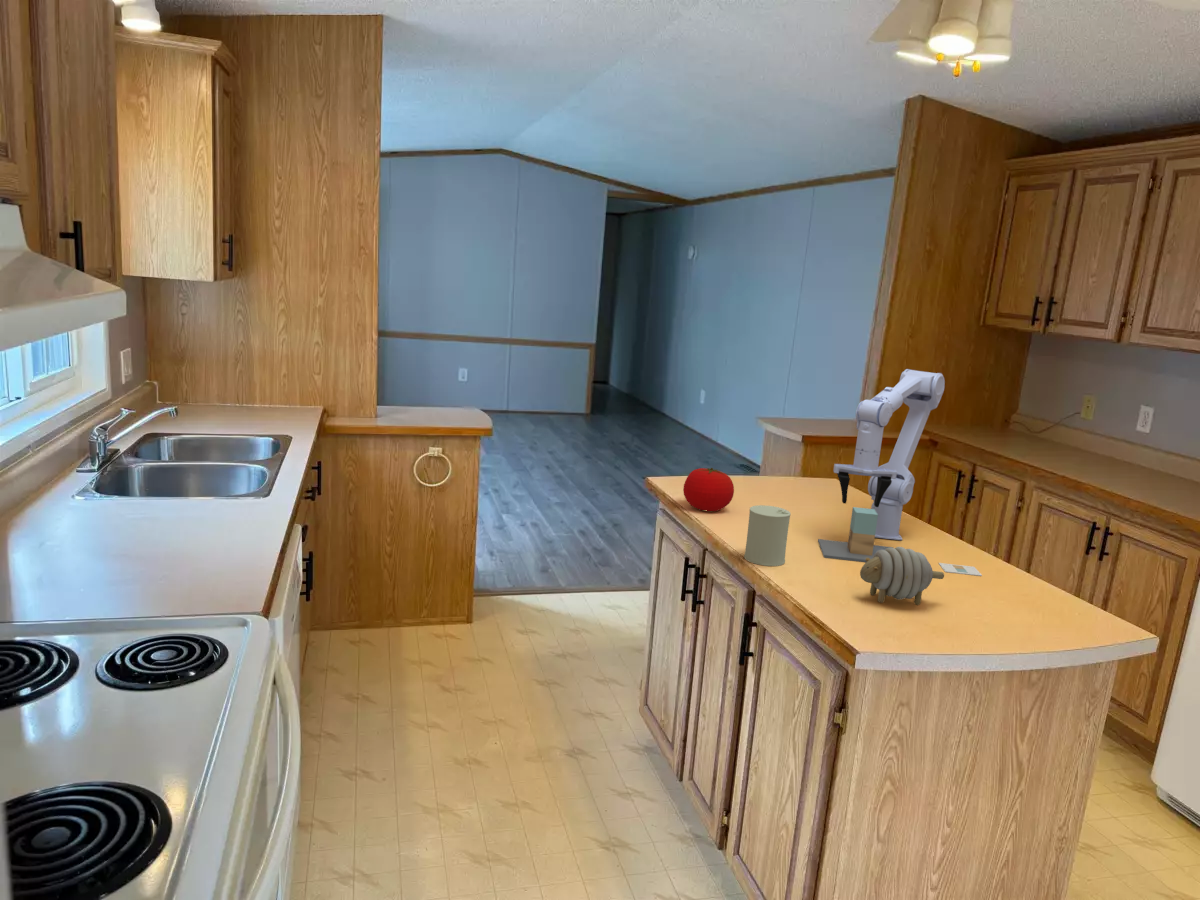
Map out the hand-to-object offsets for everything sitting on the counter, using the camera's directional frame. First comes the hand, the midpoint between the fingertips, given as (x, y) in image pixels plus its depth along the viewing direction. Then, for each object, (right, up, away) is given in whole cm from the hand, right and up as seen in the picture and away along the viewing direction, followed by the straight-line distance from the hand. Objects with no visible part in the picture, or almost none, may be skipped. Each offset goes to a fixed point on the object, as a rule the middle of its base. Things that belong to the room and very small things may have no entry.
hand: (860, 504), depth 204 cm
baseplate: (-2, -11, -5) cm, 12 cm away
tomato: (-34, -3, +25) cm, 43 cm away
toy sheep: (-3, -18, -34) cm, 38 cm away
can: (-26, -12, -14) cm, 32 cm away
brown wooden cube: (-2, -11, -5) cm, 12 cm away
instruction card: (+20, -14, -11) cm, 27 cm away
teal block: (-1, -6, -6) cm, 8 cm away
